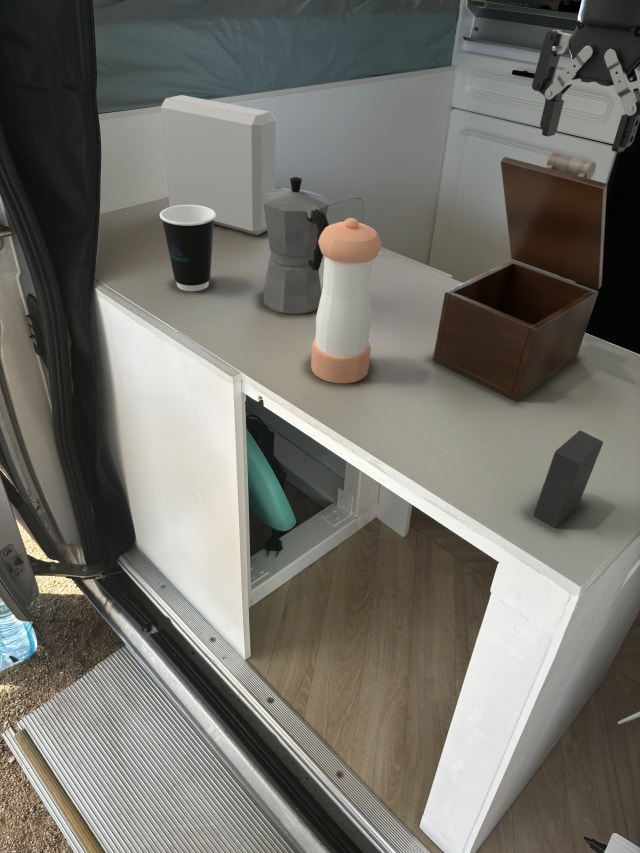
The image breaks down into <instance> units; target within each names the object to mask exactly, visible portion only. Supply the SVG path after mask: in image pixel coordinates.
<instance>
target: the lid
mask: <svg viewBox="0 0 640 853" xmlns="http://www.w3.org/2000/svg"><path fill="white" fill-rule="evenodd" d="M596 167H597V163H596V161H592V160H588V159H583V158H580V157H576V156H572V155H568V154H564V153H560V152H556V151H554V152H552V153H551V154H550V155H549V157H548V158H547V161H546V166H543V165H542V166H541V165H537V164H533V163H530V162H526V161H523V160H518V159H515V158H511V157H508V156H504V157H503V158H502V159H500V169H501V177H502V186H503V195H504V196H503V197H504V206H505V214H506V223H507V232H508V240H509V249H510V259H511V260H512V261H515V262H518V263H521V264H524V265H526V266H529V267H532V268H535V269H538V270H540V271H543V272H546V273H549V274H552V275H554V276H557V277H560V278H563V279H565V280H568V281H571V282H574V283H577V284H579V285H582V286H585V287H588V288H590V289H593V290H596V291H598V290H599V289H600V288H601V287H602V283H603V282H602V281H603V266H604V265H603V264H604V249H605V248H604V247H605V246H604V245H605V243H604V242H605V230H606V229H605V228H606V227H605V226H606V211H607V210H606V207H607V191H608V183H607V182H602V181H599V180H596V179H592V177H593V176H594V174H595V171H596Z"/></svg>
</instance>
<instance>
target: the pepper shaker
mask: <svg viewBox="0 0 640 853" xmlns="http://www.w3.org/2000/svg"><path fill="white" fill-rule="evenodd" d="M318 243H319V247H320V250H321V252H322V254H323V257H324V264H323V278H322V288H321V298H320V303H319V307H318V308H317V310H316V311H317V312H316V316H315V337H314V339H313V341H312V344H311V360H310V368H311V371H312V373H313V374H314V375H315V376H316V377H318V378H319V379H321V380H323V381H326V382H328V383H335V384H351V383H356V382H358V381H361V380H363V379H364V378H365V377H366V376H367V375H368V372H369V367H370V356H371V349H372V346H371V344H370V342H369V339H370V332H371V325H372V313H371V312H372V310H371V295H370V293H371V292H370V290H371V289H370V288H371V279H372V268H373V260H374V259H376V258H377V256H378V255H379V253H380V251H381V248H382V241H381V239H380V236H379V235H378V232H377V231H376V230H375V229H374V228H373V227H371V226H369V225H367V224H364V223H362V222H359V221H358V219H356V218H355V217H348V218H346V219H345V220H344V221H339V222H336V223H332V224H329V226H327V227H326V228H325V229H324V231H323V232H322V233H321V235H320V238H319V241H318Z"/></svg>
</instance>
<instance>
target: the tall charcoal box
mask: <svg viewBox="0 0 640 853" xmlns="http://www.w3.org/2000/svg"><path fill="white" fill-rule="evenodd" d="M603 444H604V441H603V440H601V439H599V438H597V437H595V436H593V435H591V434H588V433H587V432H585V431H583V430H580V429H579V430H578V431H577V432H576V433H575V434H573V435H572V436H571V437H570V438H569V439H568V440H567V441H565V442H564V443H563V444H562V445H561V446H560V447H558V448H557V449H556V450H555V451H554V452H553V457H552V459H551V462H550V465H549V467H548V471H547V474H546V477H545V480H544V482H543V485H542V488H541V491H540V495H539V497H538V500H537V503H536V506H535V509H534V512H533V516H534V517H535V518H537V519H539V520H541V521H542V522H544V523H545V524H547V525H549V526H551V527H553V528H554V529H555V528H558V526H559V525H560V524H561V523H562V522H564V520H565V519H566V518H567V517H568V516H569V515H570V514H571V513H572V512H573V511H574V510H575V509H576V508H577V507H578V506H579V505H580V503H581V500H582V498H583V495H584V492H585V491H586V488H587V485H588V482H589V480H590V478H591V475H592V471H593V470H594V467H595V464H596V462H597V459H598V457H599V454H600V452H601V449H602V447H603Z"/></svg>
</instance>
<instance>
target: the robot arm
mask: <svg viewBox="0 0 640 853" xmlns="http://www.w3.org/2000/svg"><path fill="white" fill-rule="evenodd" d="M567 48H568V50H569V54H570V57H571V61H570V62H569V63H568V64H567V66H566V67H565V68H564V69H563V70H562V71H561V72H560V73H559V74H557V77H556V79H555V75H556V71H557V69H558V65H559V62H560V58H561V55H562V54H564V53H565V52H566V50H567ZM639 66H640V0H581V3H580V7H579V11H578V16H577V24H576V28H575V29H574V31H573V33H568V32H566V31H565V30H563V29H553V30H549V31H547V32H546V33H545V36H544V39H543V43H542V46H541V50H540V54H539V57H538V61H537V65H536V68H535V72H534V76H533V80H532V84H531V88H532V90H533V91H534V92H539V93H540V94H542V95H543V96H544V106H543V108H542V109H543V110H542V114H541V119H540V122H539V129H540V130H542V132H541V135H542V136H544V137H547V138H549V137H552V136H555V135H556V133H557V131H558V128H559V123H560V119H561V116H562V111H563V107H564V103H565V100H564V99H562V98H563V97H564V96H565V94H567V93H568V92H569V91H570V90H571V88H573V87H574V86H575V85H576V84H578V83H579V82H581V83H587V84H589V83H596V84H598V85H600V86H603V87H611V86H614V89H615V93H616V95H617V96H619V98H620V101H621V104H622V107H623V110H624V113H625V114H621V117H620V119H619V124H618V127H617V130H616V134H615V137H614V140H613V142H612V146H611V152H615V153H621V152H624V151H625V150H626V148H628V147H630V146H631V145H632V144H633V142H634V141H635V137H636V134H637V132H638V127H639V125H640V76H639V73H638V70H637V68H639ZM554 79H555V80H554Z"/></svg>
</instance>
